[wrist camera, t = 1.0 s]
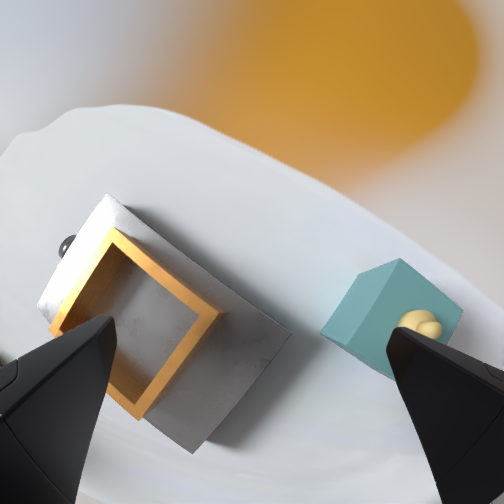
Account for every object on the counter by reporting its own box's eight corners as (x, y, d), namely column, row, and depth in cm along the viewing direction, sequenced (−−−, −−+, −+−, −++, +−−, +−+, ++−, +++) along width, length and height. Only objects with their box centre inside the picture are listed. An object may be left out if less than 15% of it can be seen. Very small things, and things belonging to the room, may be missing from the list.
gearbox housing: (288, 329, 22) (295, 338, 16) (200, 438, 21) (182, 472, 15) (114, 198, 25) (80, 172, 19) (49, 299, 23) (8, 294, 18)
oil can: (408, 311, 22) (489, 309, 11) (372, 368, 21) (439, 404, 11) (358, 274, 23) (421, 248, 12) (319, 333, 22) (361, 352, 12)
